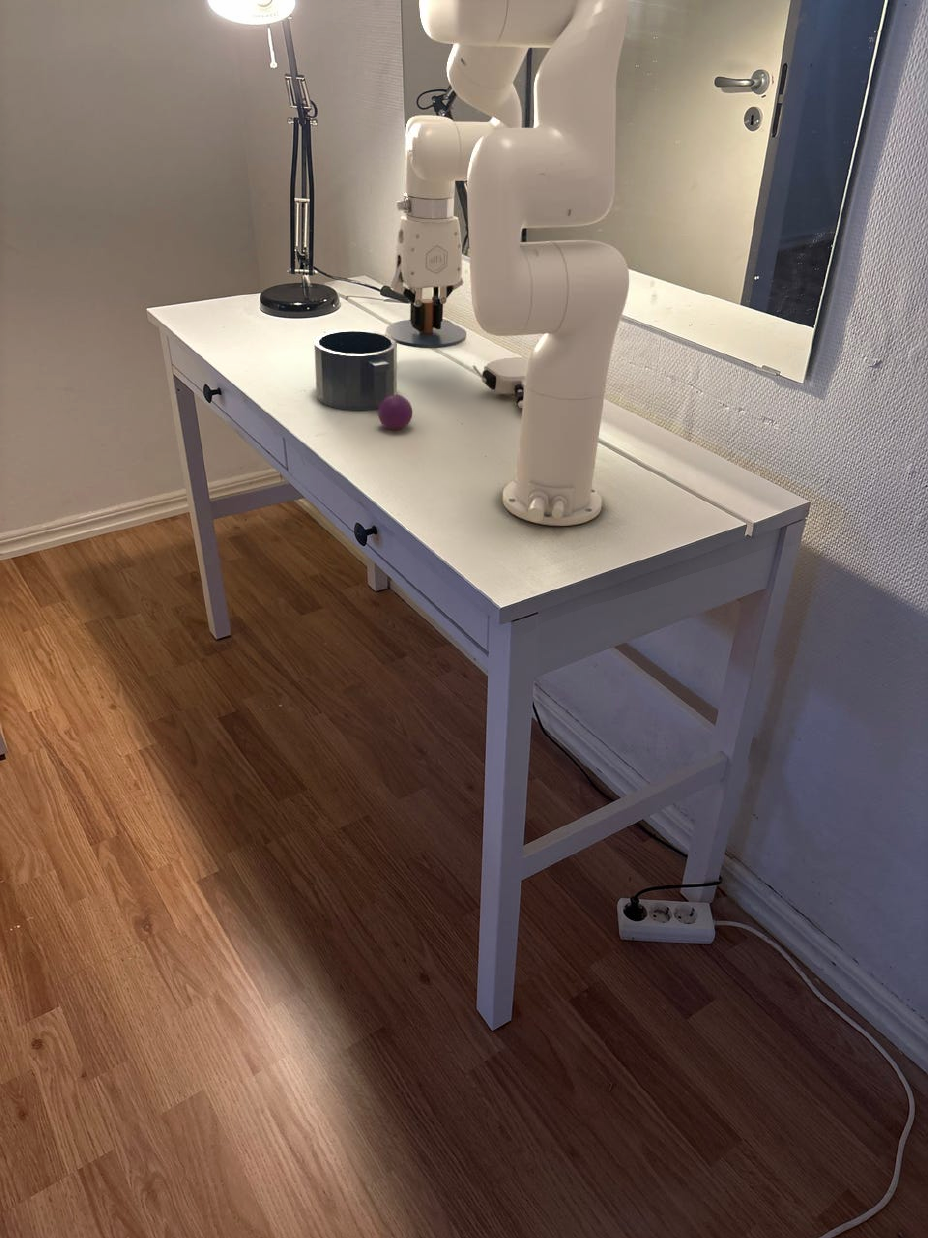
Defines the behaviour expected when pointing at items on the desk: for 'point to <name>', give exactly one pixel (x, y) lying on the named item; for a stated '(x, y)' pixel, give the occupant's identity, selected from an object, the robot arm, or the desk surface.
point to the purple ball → (395, 412)
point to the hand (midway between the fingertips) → (426, 326)
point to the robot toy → (506, 376)
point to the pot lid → (426, 331)
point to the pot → (355, 368)
